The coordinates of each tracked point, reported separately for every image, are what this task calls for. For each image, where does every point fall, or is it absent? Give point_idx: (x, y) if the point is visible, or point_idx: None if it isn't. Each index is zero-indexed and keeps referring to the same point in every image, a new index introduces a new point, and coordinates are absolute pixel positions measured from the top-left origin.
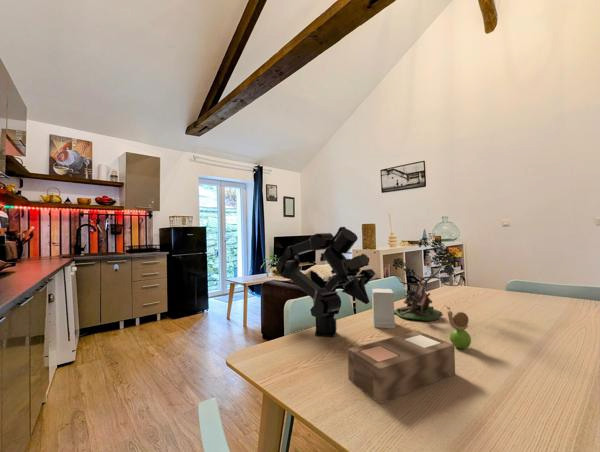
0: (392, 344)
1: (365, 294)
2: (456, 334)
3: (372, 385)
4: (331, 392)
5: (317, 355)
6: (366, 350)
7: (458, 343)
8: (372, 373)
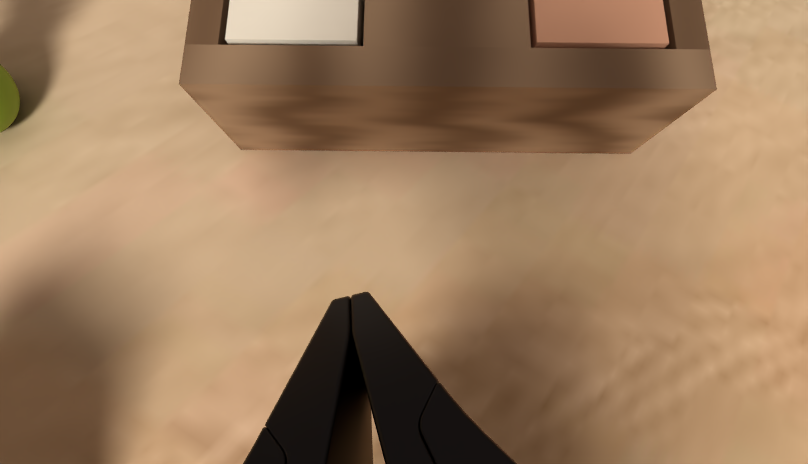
0: (465, 23)
1: (336, 364)
2: None
3: None
4: (730, 116)
5: (662, 400)
6: (635, 34)
7: (10, 82)
8: None
